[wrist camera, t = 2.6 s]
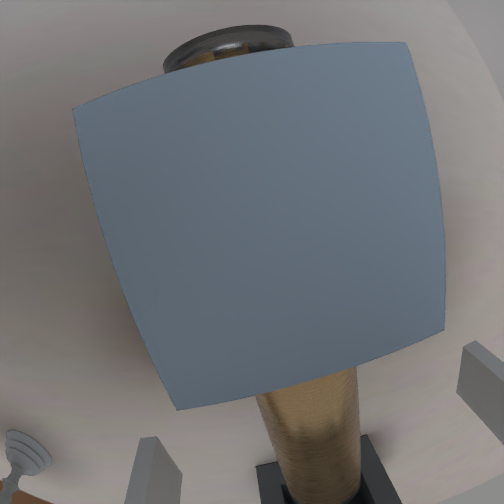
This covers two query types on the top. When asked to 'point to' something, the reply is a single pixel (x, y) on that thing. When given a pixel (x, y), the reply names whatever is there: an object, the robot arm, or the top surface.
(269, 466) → the socket
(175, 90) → the blue-grey cube-like block
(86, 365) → the top surface
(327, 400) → the slip tube
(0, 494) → the chalice
